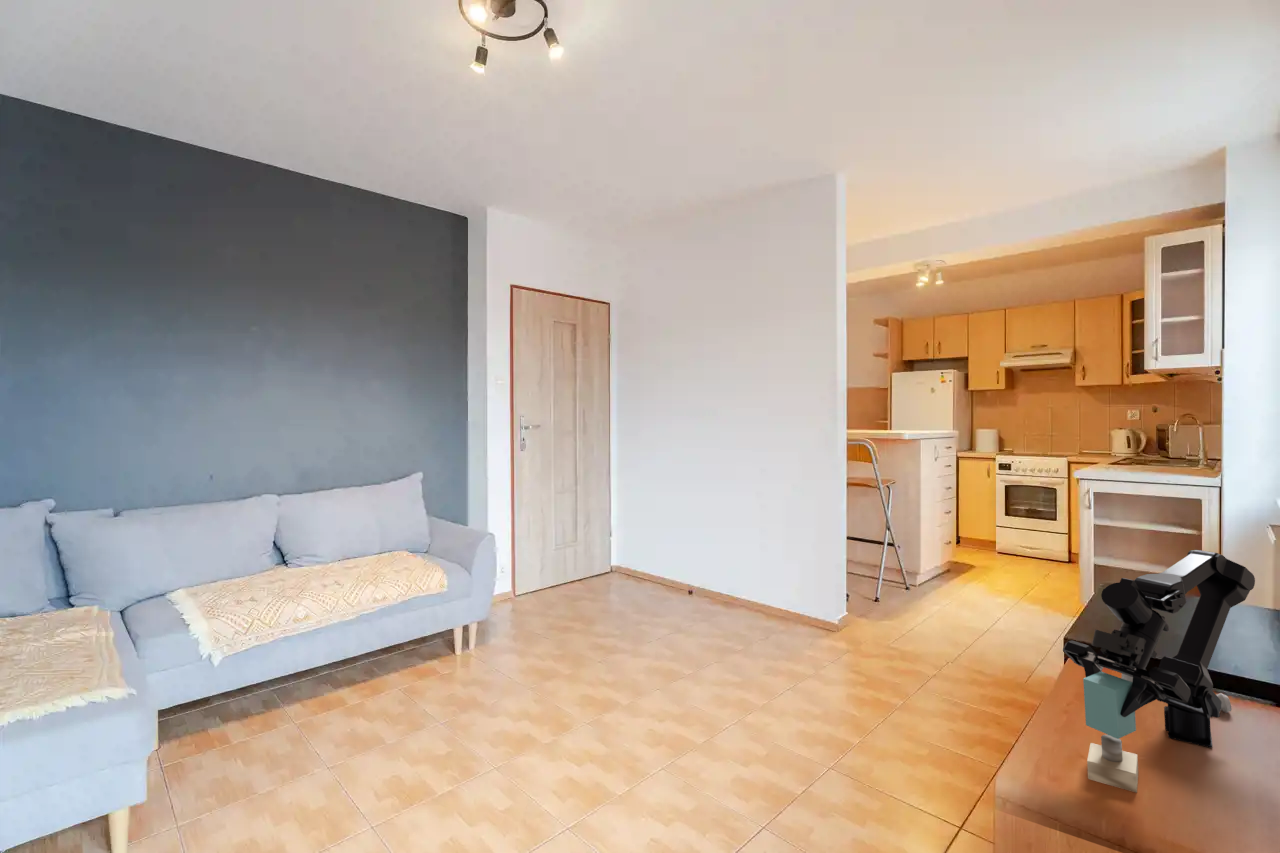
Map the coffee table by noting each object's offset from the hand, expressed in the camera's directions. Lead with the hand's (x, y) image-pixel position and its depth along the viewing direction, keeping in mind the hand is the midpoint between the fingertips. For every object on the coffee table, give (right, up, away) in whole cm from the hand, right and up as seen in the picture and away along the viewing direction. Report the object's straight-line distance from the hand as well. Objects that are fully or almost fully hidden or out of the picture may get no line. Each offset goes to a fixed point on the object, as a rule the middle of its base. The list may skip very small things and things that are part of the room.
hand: (1104, 708), depth 110 cm
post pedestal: (+2, -13, +1) cm, 13 cm away
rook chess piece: (+28, -10, +28) cm, 41 cm away
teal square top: (+2, -4, +1) cm, 4 cm away
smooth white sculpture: (+37, -10, +20) cm, 43 cm away
